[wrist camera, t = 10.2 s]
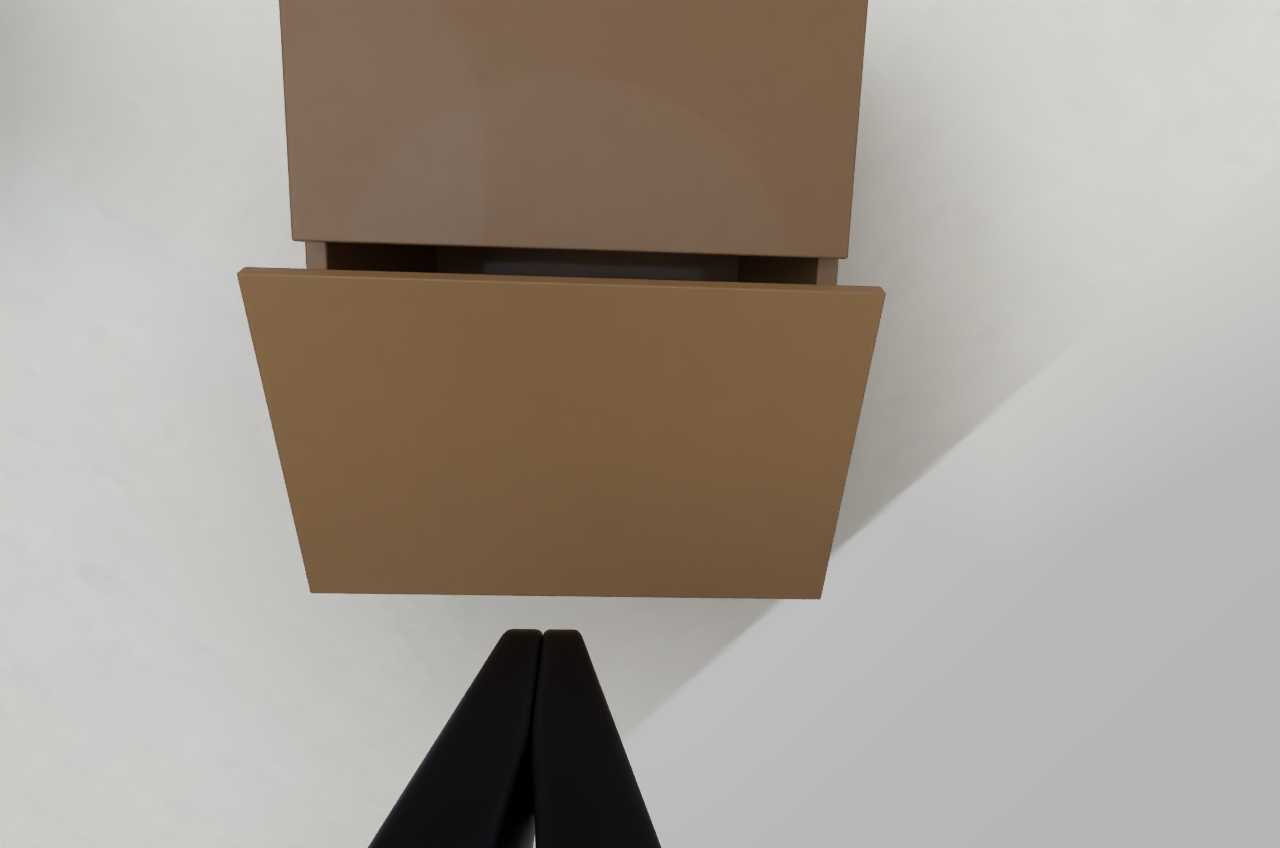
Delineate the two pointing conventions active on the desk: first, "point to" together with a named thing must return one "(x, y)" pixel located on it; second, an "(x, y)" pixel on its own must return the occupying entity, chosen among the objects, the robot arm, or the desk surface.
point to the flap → (561, 430)
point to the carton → (574, 136)
